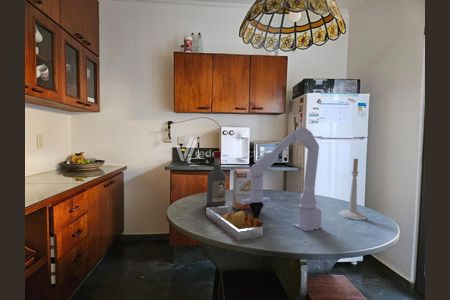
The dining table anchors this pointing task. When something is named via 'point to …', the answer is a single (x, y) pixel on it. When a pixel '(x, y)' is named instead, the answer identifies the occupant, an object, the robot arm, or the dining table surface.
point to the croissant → (242, 220)
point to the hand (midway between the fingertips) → (255, 218)
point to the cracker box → (241, 188)
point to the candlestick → (353, 196)
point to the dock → (232, 230)
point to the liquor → (216, 184)
